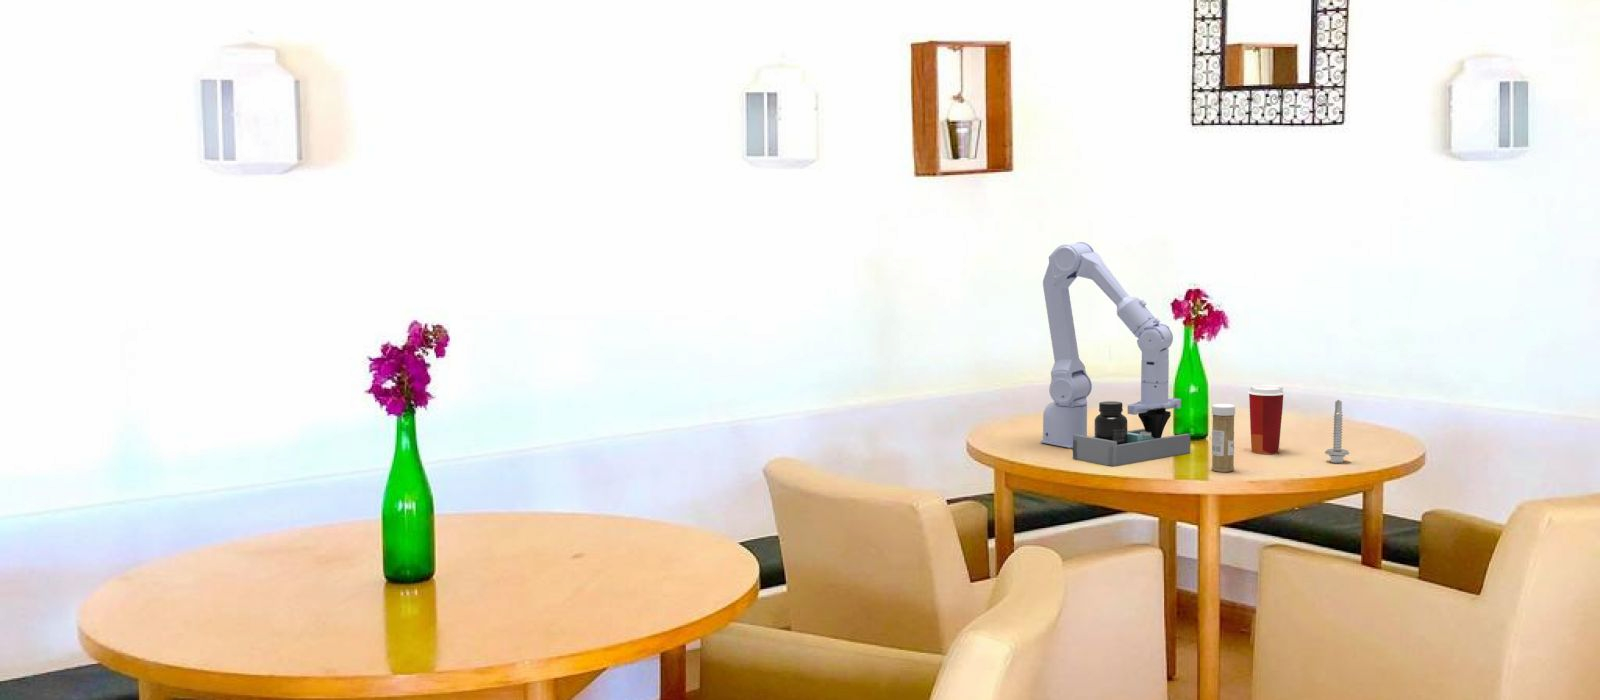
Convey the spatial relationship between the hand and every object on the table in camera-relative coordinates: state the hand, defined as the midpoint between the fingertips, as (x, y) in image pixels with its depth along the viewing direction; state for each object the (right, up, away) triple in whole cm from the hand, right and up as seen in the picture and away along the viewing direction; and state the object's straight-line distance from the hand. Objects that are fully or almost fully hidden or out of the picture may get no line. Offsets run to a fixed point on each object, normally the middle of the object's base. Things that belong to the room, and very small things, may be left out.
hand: (1153, 444), depth 395 cm
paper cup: (+23, -2, -1) cm, 23 cm away
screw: (+35, -3, -13) cm, 38 cm away
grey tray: (-6, -2, -4) cm, 7 cm away
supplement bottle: (-11, -3, -8) cm, 13 cm away
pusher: (-4, -2, -3) cm, 6 cm away
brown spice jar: (+10, -4, -21) cm, 24 cm away
